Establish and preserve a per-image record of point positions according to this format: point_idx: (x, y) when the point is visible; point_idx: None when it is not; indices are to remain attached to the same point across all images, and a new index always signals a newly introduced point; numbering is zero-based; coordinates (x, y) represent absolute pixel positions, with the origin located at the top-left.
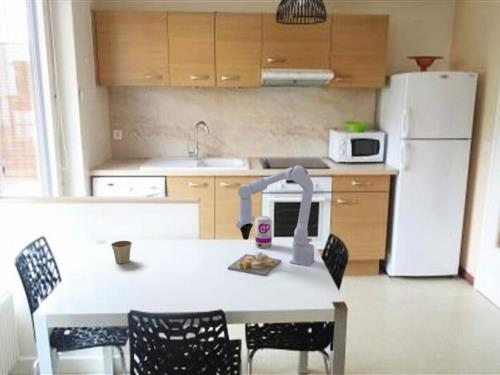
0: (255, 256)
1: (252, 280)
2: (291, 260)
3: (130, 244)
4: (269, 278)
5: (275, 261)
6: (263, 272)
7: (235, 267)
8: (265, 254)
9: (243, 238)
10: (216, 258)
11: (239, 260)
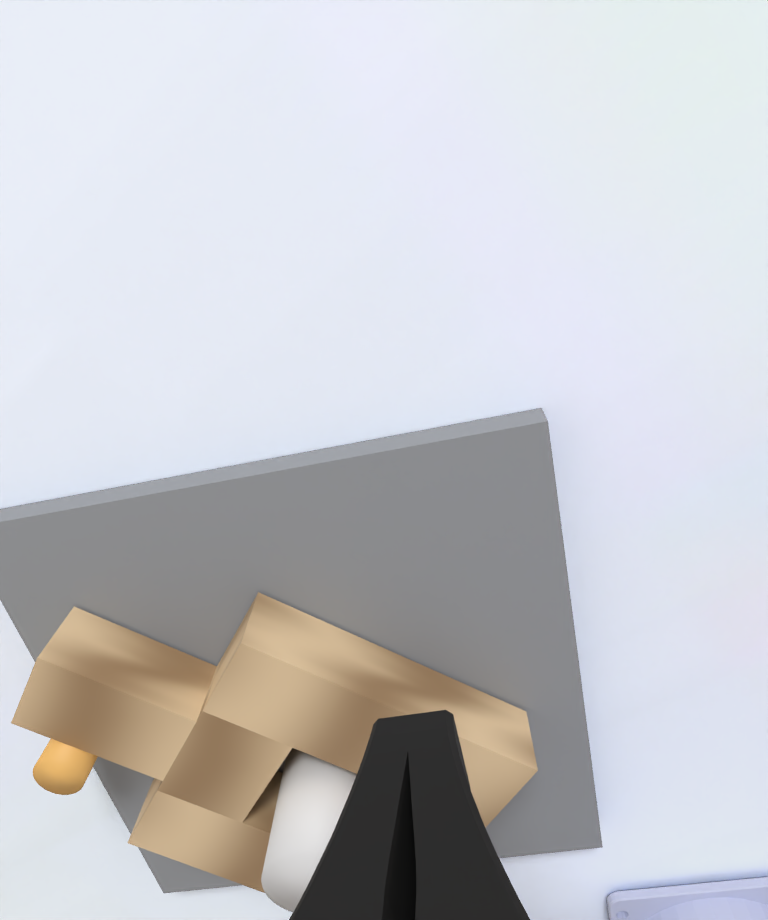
0: (361, 743)
1: (12, 837)
2: (658, 901)
3: None
4: (163, 907)
5: (515, 830)
6: (178, 871)
7: (36, 608)
8: (513, 795)
9: (373, 744)
10: (119, 42)
11: (254, 508)
